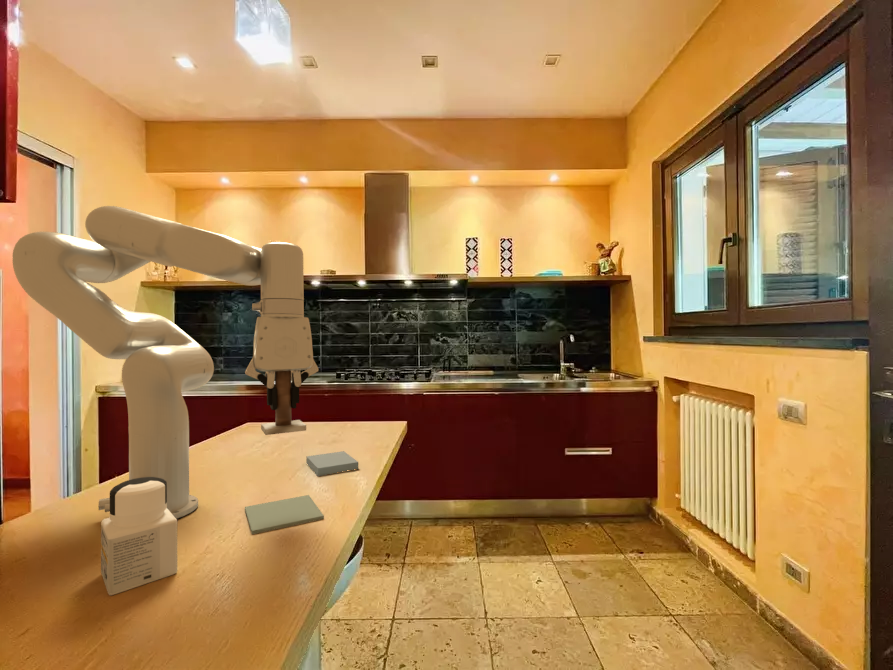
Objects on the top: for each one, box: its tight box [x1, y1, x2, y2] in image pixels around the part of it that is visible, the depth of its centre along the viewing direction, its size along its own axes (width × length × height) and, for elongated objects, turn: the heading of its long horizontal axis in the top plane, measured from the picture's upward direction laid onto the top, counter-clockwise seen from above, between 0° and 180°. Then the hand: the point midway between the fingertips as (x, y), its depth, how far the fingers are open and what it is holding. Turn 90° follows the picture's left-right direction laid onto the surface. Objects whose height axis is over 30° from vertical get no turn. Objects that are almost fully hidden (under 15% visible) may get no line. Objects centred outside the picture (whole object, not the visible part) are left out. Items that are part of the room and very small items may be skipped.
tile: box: [306, 450, 359, 477], centre depth 110 cm, size 2×12×10 cm
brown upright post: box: [260, 371, 307, 436], centre depth 81 cm, size 7×6×12 cm
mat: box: [244, 494, 325, 535], centre depth 80 cm, size 12×12×1 cm
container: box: [100, 477, 178, 596], centre depth 60 cm, size 8×8×13 cm
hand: (283, 407), depth 81 cm, fingers closed on brown upright post, 2 cm apart
